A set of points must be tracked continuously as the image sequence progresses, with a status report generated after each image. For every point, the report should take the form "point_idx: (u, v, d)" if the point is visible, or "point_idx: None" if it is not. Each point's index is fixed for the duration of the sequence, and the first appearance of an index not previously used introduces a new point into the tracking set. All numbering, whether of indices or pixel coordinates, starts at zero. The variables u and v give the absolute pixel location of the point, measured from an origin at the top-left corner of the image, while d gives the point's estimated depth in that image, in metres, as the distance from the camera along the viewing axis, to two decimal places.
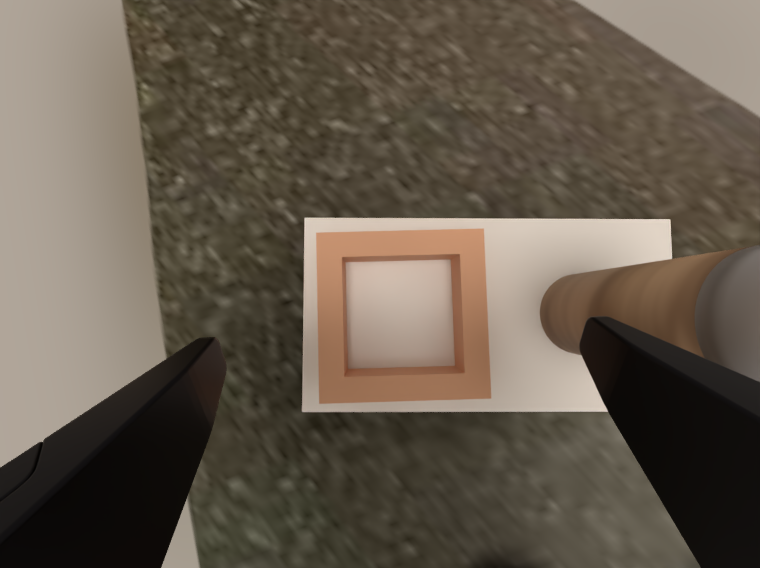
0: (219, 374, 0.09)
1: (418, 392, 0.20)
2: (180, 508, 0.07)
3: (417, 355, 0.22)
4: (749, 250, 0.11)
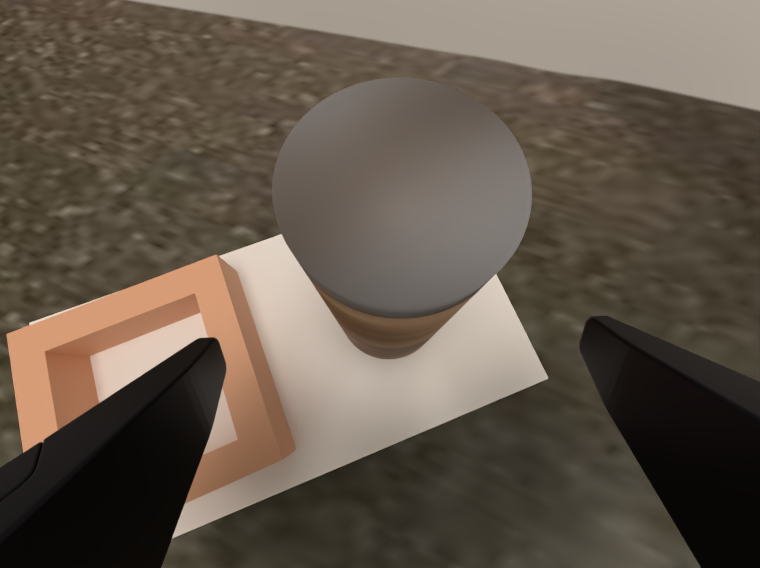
0: (219, 374, 0.09)
1: None
2: (180, 509, 0.07)
3: None
4: None
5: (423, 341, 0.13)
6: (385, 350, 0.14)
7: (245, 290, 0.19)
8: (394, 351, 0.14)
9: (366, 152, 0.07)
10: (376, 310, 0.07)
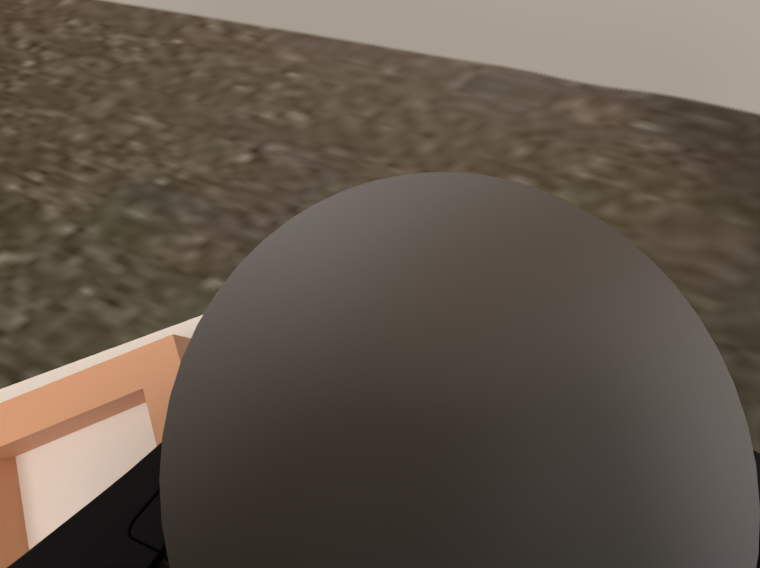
0: None
1: None
2: None
3: None
4: None
5: None
6: None
7: None
8: None
9: (375, 352, 0.03)
10: None
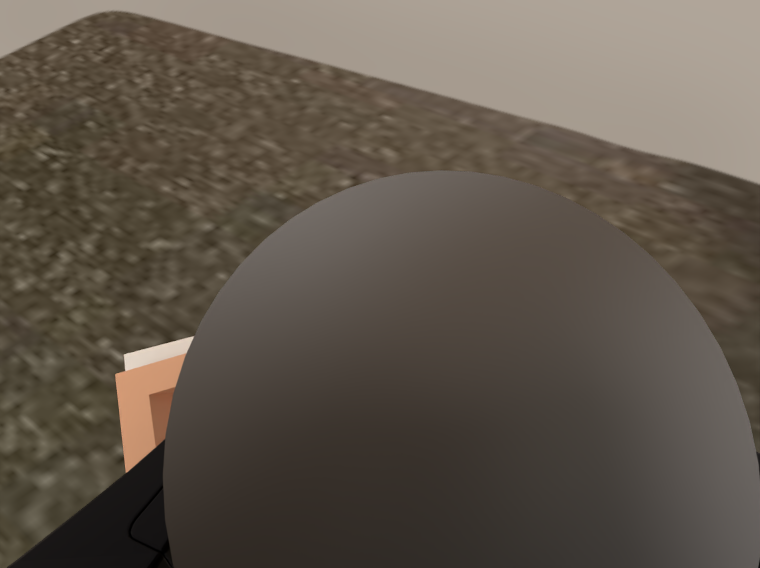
0: None
1: None
2: None
3: None
4: None
5: None
6: None
7: None
8: None
9: (378, 350, 0.03)
10: None
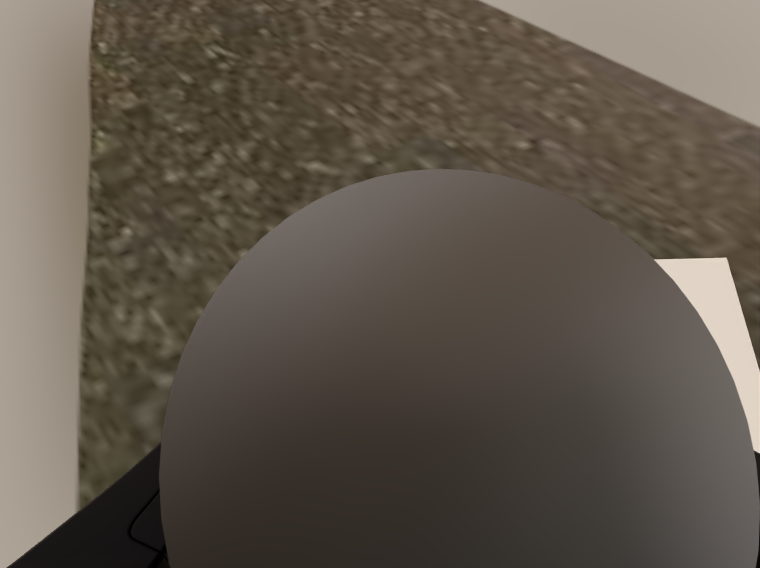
0: None
1: None
2: None
3: None
4: None
5: None
6: None
7: None
8: None
9: (375, 349, 0.03)
10: None
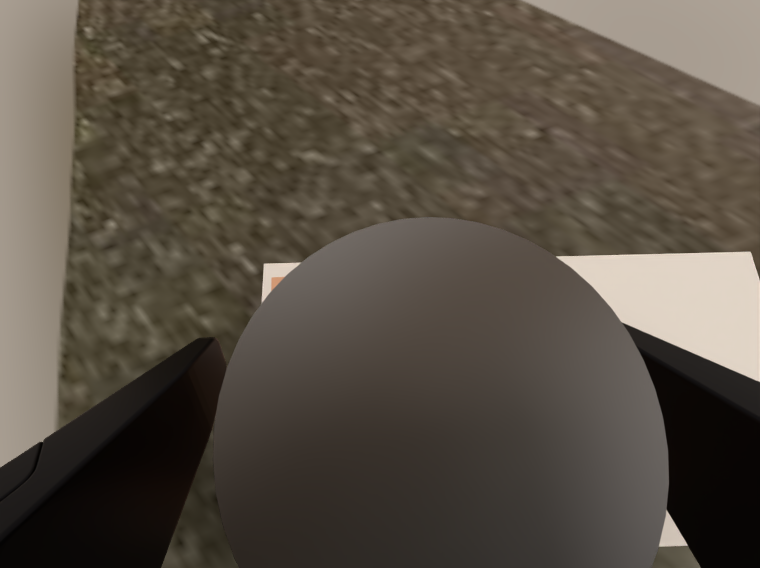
0: (219, 374, 0.09)
1: None
2: (180, 508, 0.07)
3: None
4: None
5: None
6: None
7: None
8: None
9: (377, 363, 0.04)
10: None
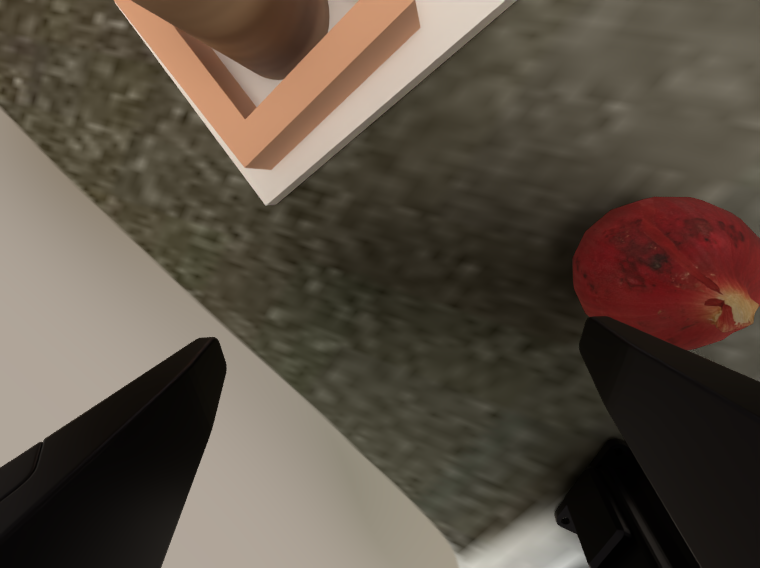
0: (219, 374, 0.09)
1: (327, 69, 0.14)
2: (180, 508, 0.07)
3: None
4: None
5: None
6: (259, 33, 0.13)
7: None
8: (270, 30, 0.13)
9: None
10: None
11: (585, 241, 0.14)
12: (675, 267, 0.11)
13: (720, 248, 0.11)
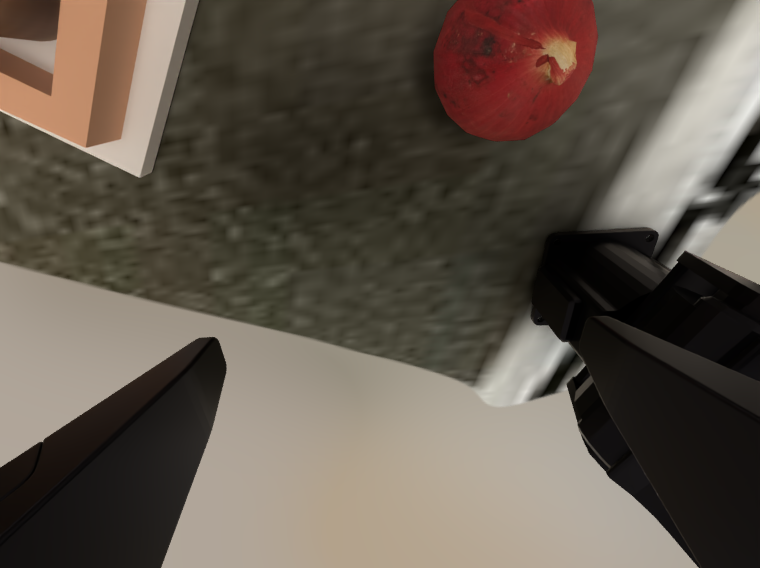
0: (219, 374, 0.09)
1: None
2: (180, 508, 0.07)
3: None
4: None
5: None
6: None
7: None
8: None
9: None
10: None
11: (434, 61, 0.14)
12: (502, 44, 0.11)
13: (533, 3, 0.11)
